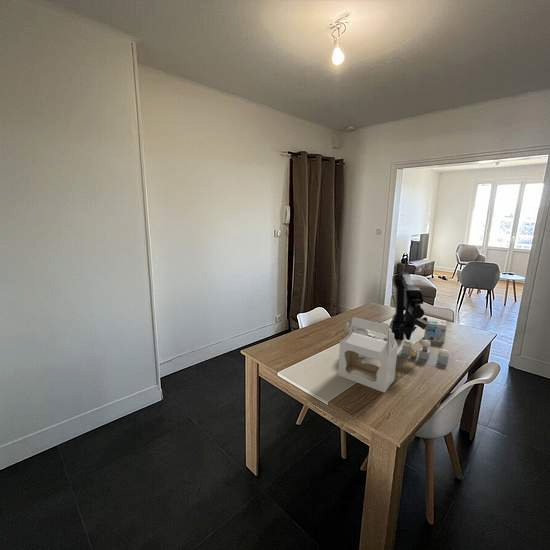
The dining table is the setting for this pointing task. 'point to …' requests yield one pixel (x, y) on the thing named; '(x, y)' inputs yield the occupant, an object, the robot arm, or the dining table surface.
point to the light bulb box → (435, 331)
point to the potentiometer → (413, 354)
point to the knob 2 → (443, 353)
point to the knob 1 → (407, 344)
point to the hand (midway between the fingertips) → (408, 339)
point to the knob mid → (425, 344)
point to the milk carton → (362, 332)
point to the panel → (426, 357)
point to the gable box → (368, 355)
